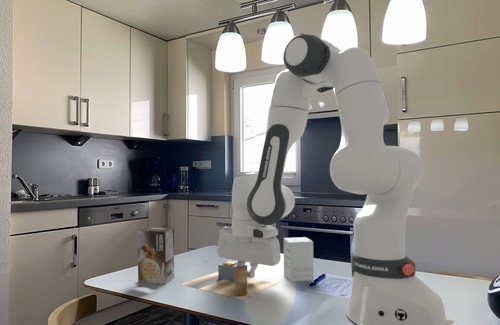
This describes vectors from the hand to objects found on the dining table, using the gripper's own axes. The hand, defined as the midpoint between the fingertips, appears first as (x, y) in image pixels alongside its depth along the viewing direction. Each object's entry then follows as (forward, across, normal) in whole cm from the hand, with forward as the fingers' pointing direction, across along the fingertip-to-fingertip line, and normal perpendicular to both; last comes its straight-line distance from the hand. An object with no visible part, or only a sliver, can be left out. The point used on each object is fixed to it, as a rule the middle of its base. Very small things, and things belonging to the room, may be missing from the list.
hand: (247, 276), depth 108 cm
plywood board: (+2, -3, -5) cm, 6 cm away
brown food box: (+2, -23, -14) cm, 27 cm away
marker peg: (+1, +5, -10) cm, 11 cm away
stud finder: (+1, -6, 0) cm, 6 cm away
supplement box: (+3, +10, +12) cm, 16 cm away
